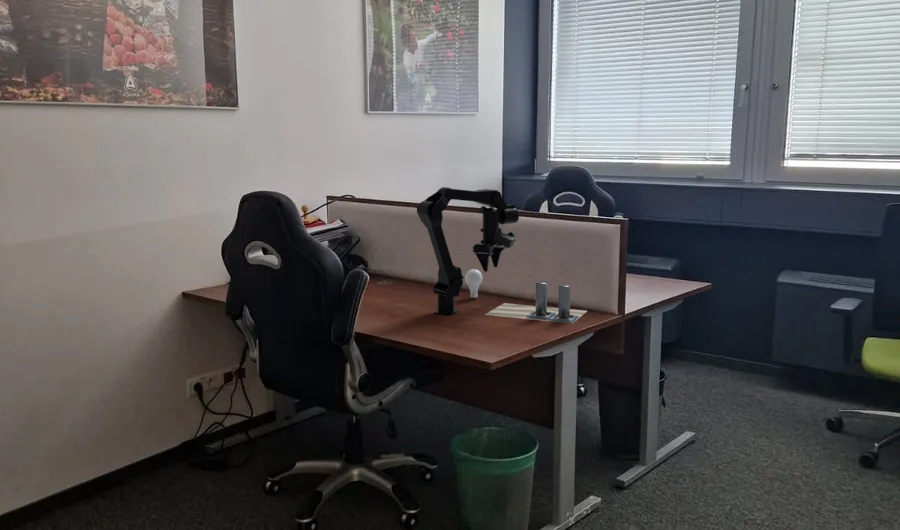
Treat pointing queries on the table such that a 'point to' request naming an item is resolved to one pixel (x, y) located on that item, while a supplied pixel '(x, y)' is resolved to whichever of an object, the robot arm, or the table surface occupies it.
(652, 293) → the table surface
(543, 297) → the pin
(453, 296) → the robot arm
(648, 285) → the table surface
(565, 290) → the fixed pin
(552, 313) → the board
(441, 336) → the table surface
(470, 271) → the lightbulb
